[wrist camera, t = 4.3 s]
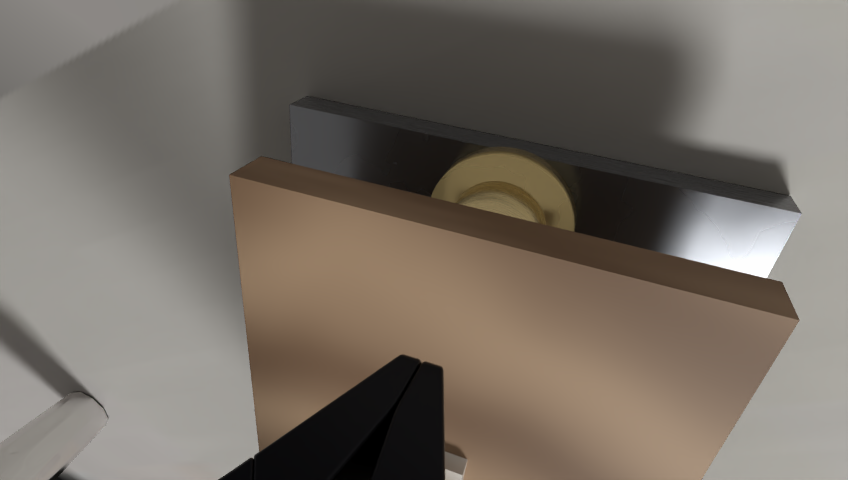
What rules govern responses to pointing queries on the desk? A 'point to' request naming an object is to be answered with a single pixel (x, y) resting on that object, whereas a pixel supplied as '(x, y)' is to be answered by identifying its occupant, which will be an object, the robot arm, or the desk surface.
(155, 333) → the desk surface
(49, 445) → the milkshake
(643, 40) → the desk surface
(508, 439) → the top plate
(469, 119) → the desk surface
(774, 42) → the desk surface
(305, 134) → the base
